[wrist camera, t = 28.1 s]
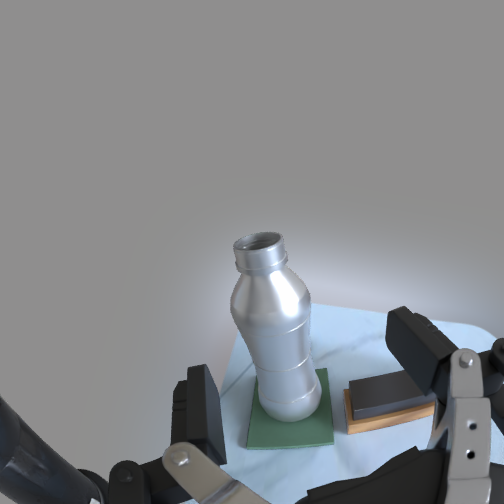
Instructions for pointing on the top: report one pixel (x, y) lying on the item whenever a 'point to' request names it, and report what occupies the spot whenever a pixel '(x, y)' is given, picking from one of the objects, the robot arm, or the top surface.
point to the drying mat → (292, 424)
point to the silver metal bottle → (275, 326)
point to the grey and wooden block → (384, 402)
